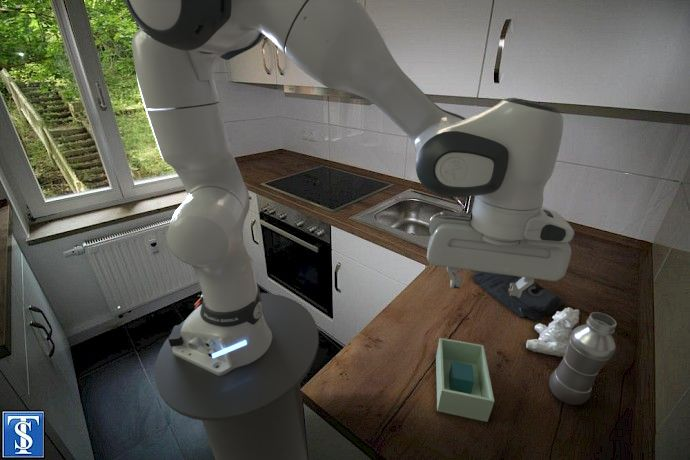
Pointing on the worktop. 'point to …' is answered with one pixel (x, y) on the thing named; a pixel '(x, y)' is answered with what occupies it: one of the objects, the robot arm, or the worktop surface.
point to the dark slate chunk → (532, 298)
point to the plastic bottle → (584, 359)
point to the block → (461, 377)
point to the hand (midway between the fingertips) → (483, 290)
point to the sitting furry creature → (555, 333)
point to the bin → (482, 394)
